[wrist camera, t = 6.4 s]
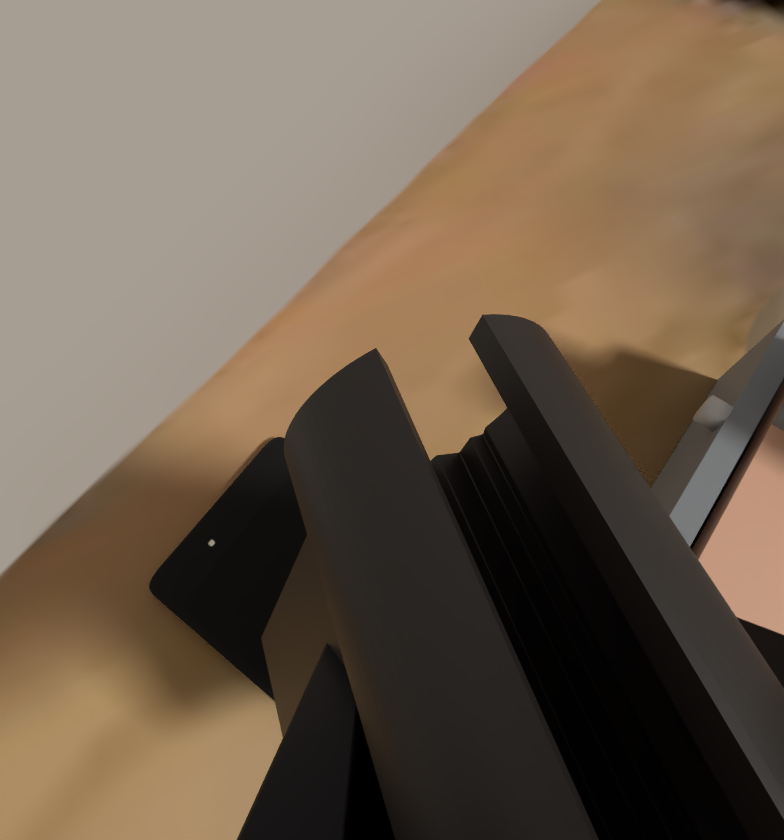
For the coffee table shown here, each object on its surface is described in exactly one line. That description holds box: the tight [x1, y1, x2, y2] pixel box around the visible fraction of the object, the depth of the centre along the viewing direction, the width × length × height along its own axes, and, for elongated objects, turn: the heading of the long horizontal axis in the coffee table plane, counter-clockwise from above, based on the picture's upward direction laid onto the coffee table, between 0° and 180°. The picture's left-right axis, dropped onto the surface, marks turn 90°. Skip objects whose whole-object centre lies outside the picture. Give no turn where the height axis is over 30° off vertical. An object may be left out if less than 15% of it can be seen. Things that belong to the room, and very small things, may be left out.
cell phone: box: [149, 437, 307, 701], centre depth 20 cm, size 9×18×1 cm, turn 56°
